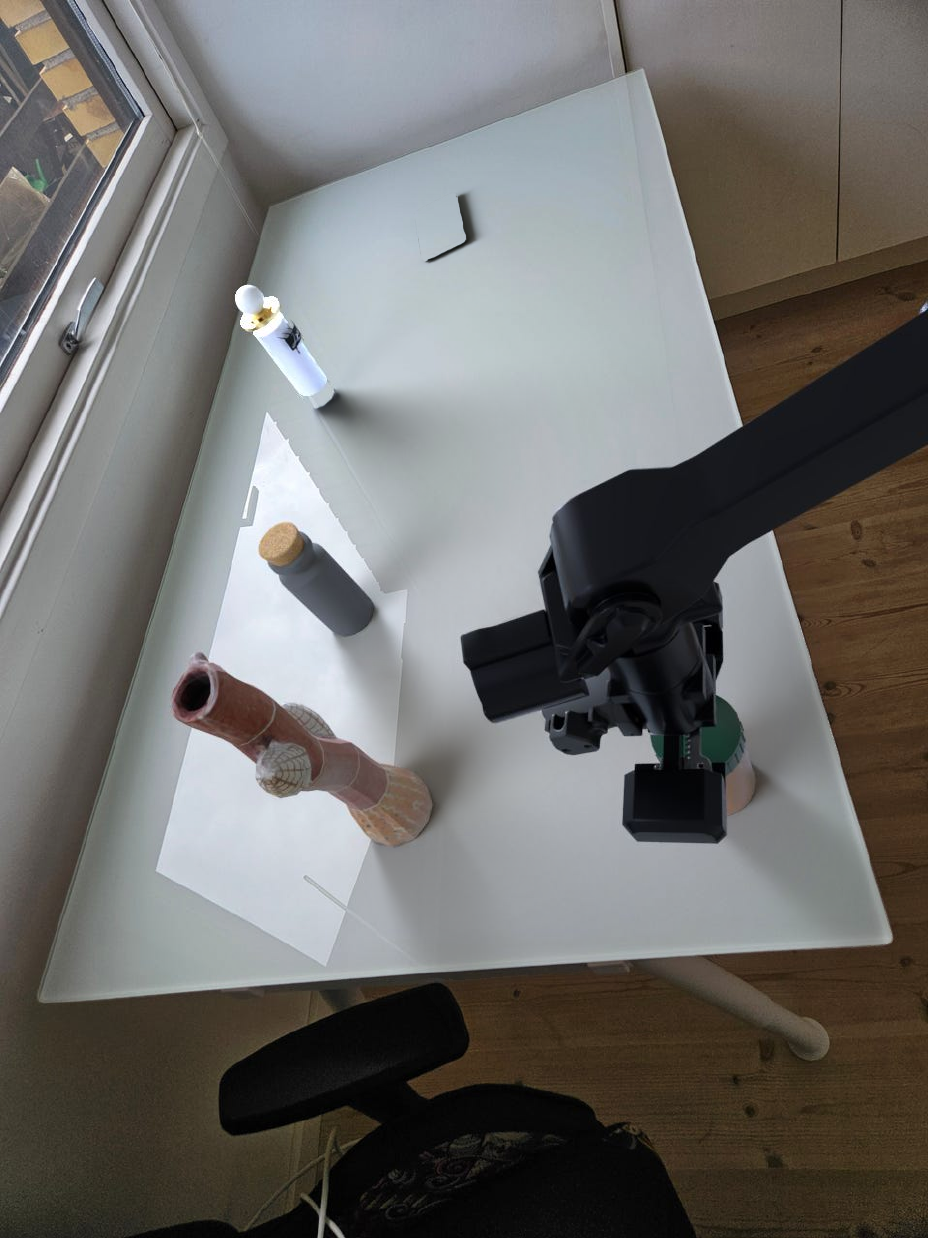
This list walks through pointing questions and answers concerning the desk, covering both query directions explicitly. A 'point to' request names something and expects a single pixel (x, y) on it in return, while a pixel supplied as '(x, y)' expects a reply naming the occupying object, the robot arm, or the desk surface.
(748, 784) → the honey jar
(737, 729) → the jar lid
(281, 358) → the perfume bottle
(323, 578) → the bottle
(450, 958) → the desk surface
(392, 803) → the vase
